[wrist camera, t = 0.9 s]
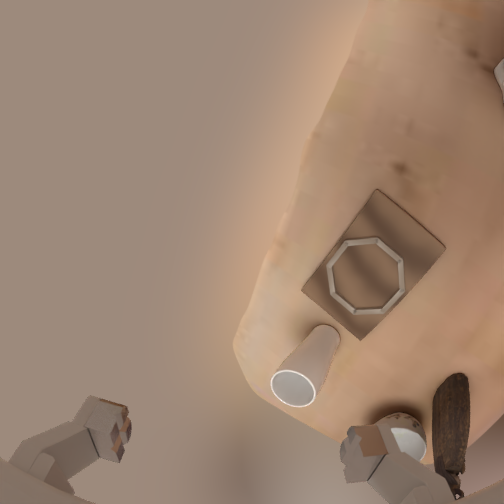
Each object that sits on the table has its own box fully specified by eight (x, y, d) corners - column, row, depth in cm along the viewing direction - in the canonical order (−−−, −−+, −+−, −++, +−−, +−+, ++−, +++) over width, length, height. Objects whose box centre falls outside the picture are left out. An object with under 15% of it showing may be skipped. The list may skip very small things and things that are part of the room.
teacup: (386, 390, 47) (378, 420, 40) (442, 410, 42) (440, 441, 35) (354, 436, 52) (342, 464, 46) (403, 454, 47) (396, 482, 41)
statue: (472, 404, 38) (462, 521, 18) (435, 413, 43) (409, 527, 22) (467, 368, 38) (461, 492, 18) (427, 380, 43) (400, 500, 22)
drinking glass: (300, 338, 53) (261, 387, 40) (320, 312, 50) (283, 360, 37) (330, 359, 51) (299, 415, 38) (352, 334, 48) (326, 390, 35)
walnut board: (377, 189, 40) (375, 189, 39) (445, 246, 37) (446, 250, 35) (303, 287, 50) (299, 292, 48) (361, 337, 47) (359, 343, 45)
